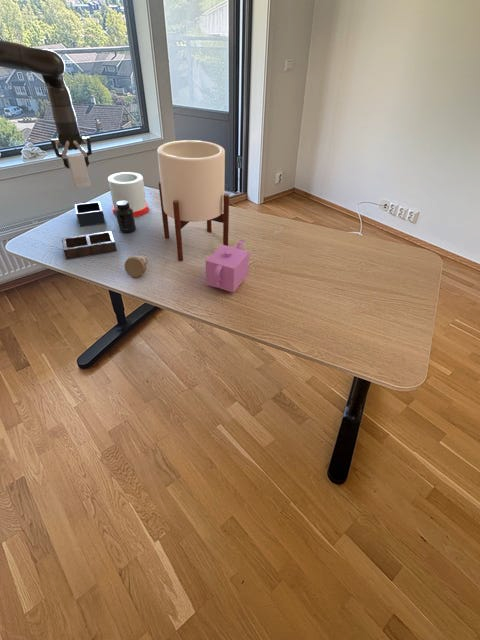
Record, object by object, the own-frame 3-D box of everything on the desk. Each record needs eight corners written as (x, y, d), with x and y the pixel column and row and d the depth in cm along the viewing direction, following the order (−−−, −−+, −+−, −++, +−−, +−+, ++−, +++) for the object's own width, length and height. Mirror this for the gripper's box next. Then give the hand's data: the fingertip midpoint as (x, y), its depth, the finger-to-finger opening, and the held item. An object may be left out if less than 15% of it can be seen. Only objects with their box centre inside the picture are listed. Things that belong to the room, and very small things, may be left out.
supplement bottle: (120, 226, 148) (115, 199, 140) (137, 226, 148) (132, 199, 140) (118, 234, 142) (112, 206, 134) (135, 234, 143) (130, 206, 135)
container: (155, 207, 164) (151, 175, 154) (134, 220, 153) (128, 186, 143) (127, 200, 168) (122, 169, 159) (105, 212, 157) (98, 179, 148)
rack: (66, 259, 126) (63, 250, 124) (64, 247, 133) (61, 238, 130) (116, 251, 132) (114, 242, 130) (113, 239, 139) (111, 230, 136)
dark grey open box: (79, 226, 146) (76, 214, 142) (77, 216, 153) (74, 204, 149) (105, 223, 149) (102, 210, 146) (102, 213, 156) (99, 201, 153)
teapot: (229, 300, 112) (230, 267, 104) (202, 291, 115) (201, 259, 107) (253, 270, 126) (256, 239, 118) (229, 263, 129) (229, 232, 121)
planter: (176, 263, 127) (167, 162, 104) (161, 236, 143) (150, 142, 119) (232, 253, 135) (235, 156, 111) (212, 228, 150) (211, 138, 126)
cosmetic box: (88, 183, 144) (81, 152, 136) (91, 187, 141) (84, 155, 134) (73, 185, 142) (65, 154, 134) (76, 189, 139) (67, 157, 131)
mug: (154, 263, 127) (151, 250, 118) (143, 286, 124) (140, 273, 114) (134, 256, 127) (131, 242, 118) (123, 278, 124) (118, 265, 114)
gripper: (85, 116, 130) (95, 162, 141) (43, 117, 126) (57, 165, 137) (87, 120, 125) (97, 168, 136) (43, 122, 121) (58, 171, 132)
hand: (77, 167), depth 136 cm, fingers closed on cosmetic box, 6 cm apart
